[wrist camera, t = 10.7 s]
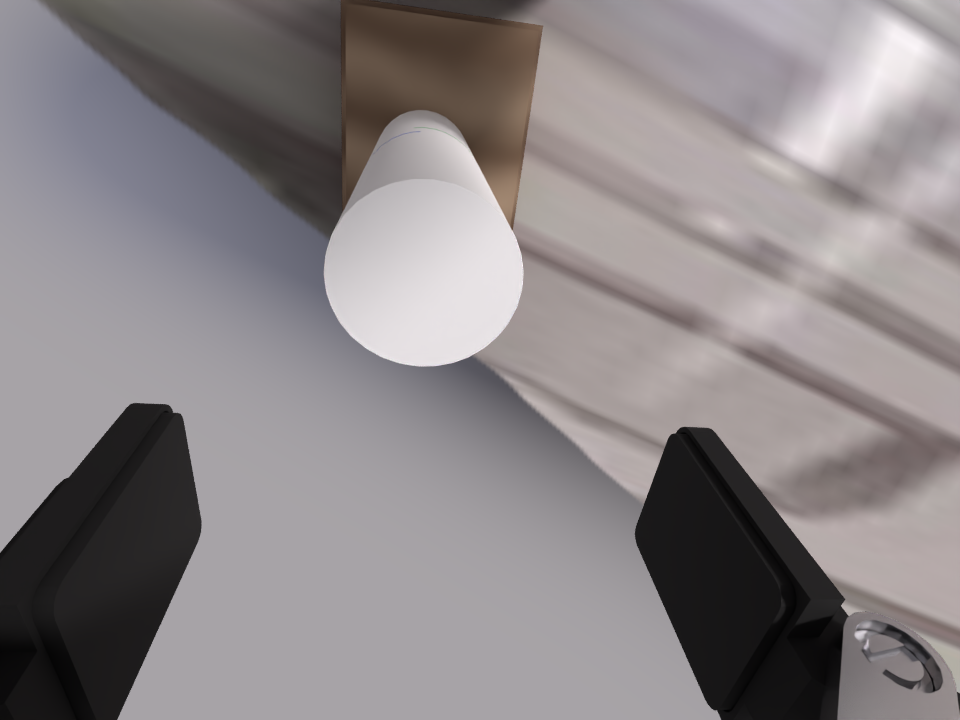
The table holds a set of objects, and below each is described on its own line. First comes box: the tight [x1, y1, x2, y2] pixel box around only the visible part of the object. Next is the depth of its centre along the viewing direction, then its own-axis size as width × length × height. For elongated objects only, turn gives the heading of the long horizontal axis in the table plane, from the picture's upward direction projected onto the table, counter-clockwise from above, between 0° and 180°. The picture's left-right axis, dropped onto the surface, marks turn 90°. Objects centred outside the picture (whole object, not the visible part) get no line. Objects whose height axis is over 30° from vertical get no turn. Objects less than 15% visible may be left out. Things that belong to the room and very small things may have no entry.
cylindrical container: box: [324, 110, 523, 366], centre depth 30 cm, size 7×7×25 cm
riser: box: [341, 0, 543, 231], centre depth 43 cm, size 16×14×6 cm
